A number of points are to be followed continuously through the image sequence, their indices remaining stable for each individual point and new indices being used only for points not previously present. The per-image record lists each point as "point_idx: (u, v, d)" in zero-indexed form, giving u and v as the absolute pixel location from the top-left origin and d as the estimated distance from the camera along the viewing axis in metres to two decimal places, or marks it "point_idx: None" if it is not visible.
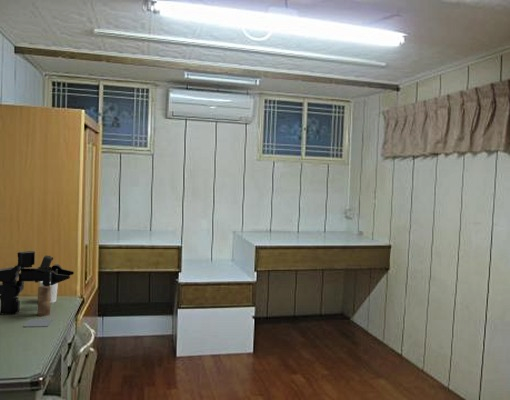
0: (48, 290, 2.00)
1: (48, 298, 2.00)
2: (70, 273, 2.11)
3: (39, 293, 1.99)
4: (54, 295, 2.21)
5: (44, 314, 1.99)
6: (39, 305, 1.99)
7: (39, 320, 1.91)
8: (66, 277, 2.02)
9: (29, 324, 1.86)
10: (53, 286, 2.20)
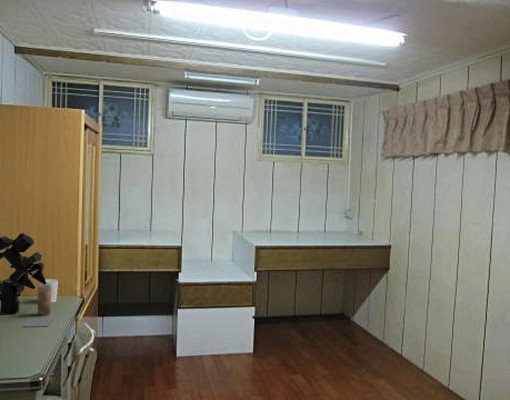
0: (48, 290, 2.00)
1: (48, 298, 2.00)
2: (43, 282, 2.06)
3: (39, 293, 1.99)
4: (54, 295, 2.21)
5: (44, 314, 1.99)
6: (39, 305, 1.99)
7: (39, 320, 1.91)
8: (32, 286, 1.96)
9: (29, 324, 1.86)
10: (53, 286, 2.20)
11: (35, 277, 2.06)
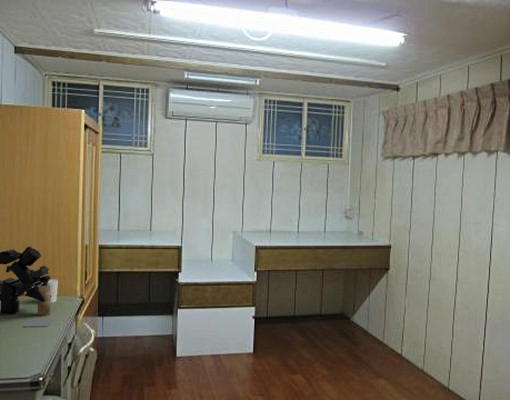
0: (48, 290, 2.00)
1: (48, 298, 2.00)
2: None
3: None
4: (54, 295, 2.21)
5: (44, 314, 1.99)
6: (39, 305, 1.99)
7: (39, 320, 1.91)
8: (41, 299, 1.98)
9: (29, 324, 1.86)
10: (53, 286, 2.20)
11: None
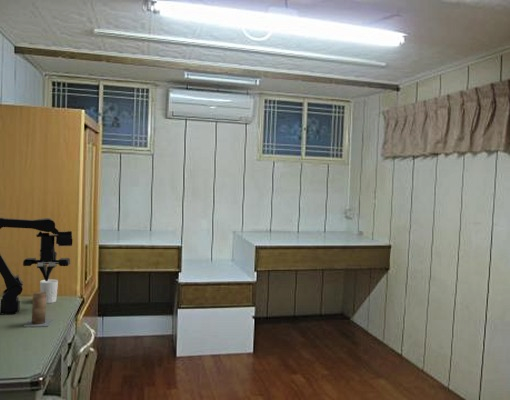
0: (41, 297, 1.87)
1: (40, 305, 1.87)
2: None
3: (33, 299, 1.87)
4: (54, 295, 2.21)
5: (35, 322, 1.87)
6: (32, 312, 1.87)
7: None
8: (48, 278, 2.09)
9: (29, 324, 1.86)
10: (53, 286, 2.20)
11: (44, 270, 2.07)
